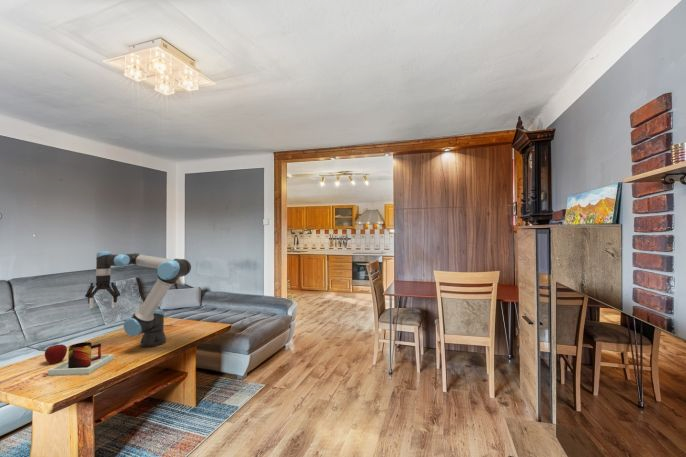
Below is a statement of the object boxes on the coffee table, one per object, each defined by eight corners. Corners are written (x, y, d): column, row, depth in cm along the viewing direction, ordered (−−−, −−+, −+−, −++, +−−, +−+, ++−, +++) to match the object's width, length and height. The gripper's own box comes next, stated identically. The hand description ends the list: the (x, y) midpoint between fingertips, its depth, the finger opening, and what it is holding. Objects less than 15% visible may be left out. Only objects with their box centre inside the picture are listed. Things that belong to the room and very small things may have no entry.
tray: (113, 359, 182) (113, 354, 182) (88, 374, 162) (89, 368, 162) (77, 360, 180) (77, 355, 180) (47, 375, 160) (48, 370, 160)
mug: (101, 360, 179) (101, 339, 179) (81, 370, 165) (81, 348, 165) (84, 360, 179) (85, 339, 179) (63, 370, 165) (63, 348, 165)
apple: (62, 358, 185) (62, 341, 185) (69, 360, 180) (70, 343, 181) (41, 363, 176) (41, 346, 177) (48, 366, 172) (49, 348, 172)
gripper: (127, 274, 206) (126, 306, 205) (87, 274, 204) (86, 306, 203) (120, 275, 198) (119, 308, 198) (78, 275, 196) (77, 309, 195)
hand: (102, 307), depth 200 cm, fingers open, 13 cm apart
